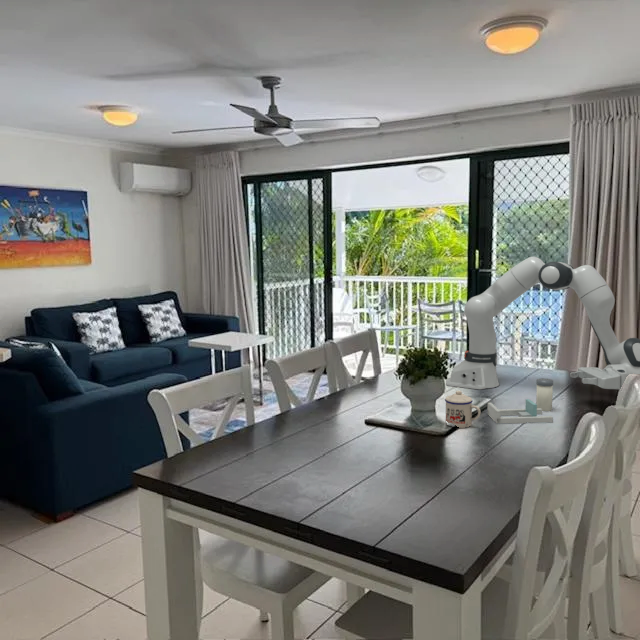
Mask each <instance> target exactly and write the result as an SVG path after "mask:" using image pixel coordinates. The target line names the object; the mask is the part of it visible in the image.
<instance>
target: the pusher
mask: <svg viewBox="0 0 640 640" xmlns="http://www.w3.org/2000/svg"><path fill="white" fill-rule="evenodd" d="M524 409H525V412H518V415H517V417H534V416H538V415H537V405H536V403H535V402H534V401H533V400H531V399H529V398H527V399H525V408H524Z"/></svg>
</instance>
